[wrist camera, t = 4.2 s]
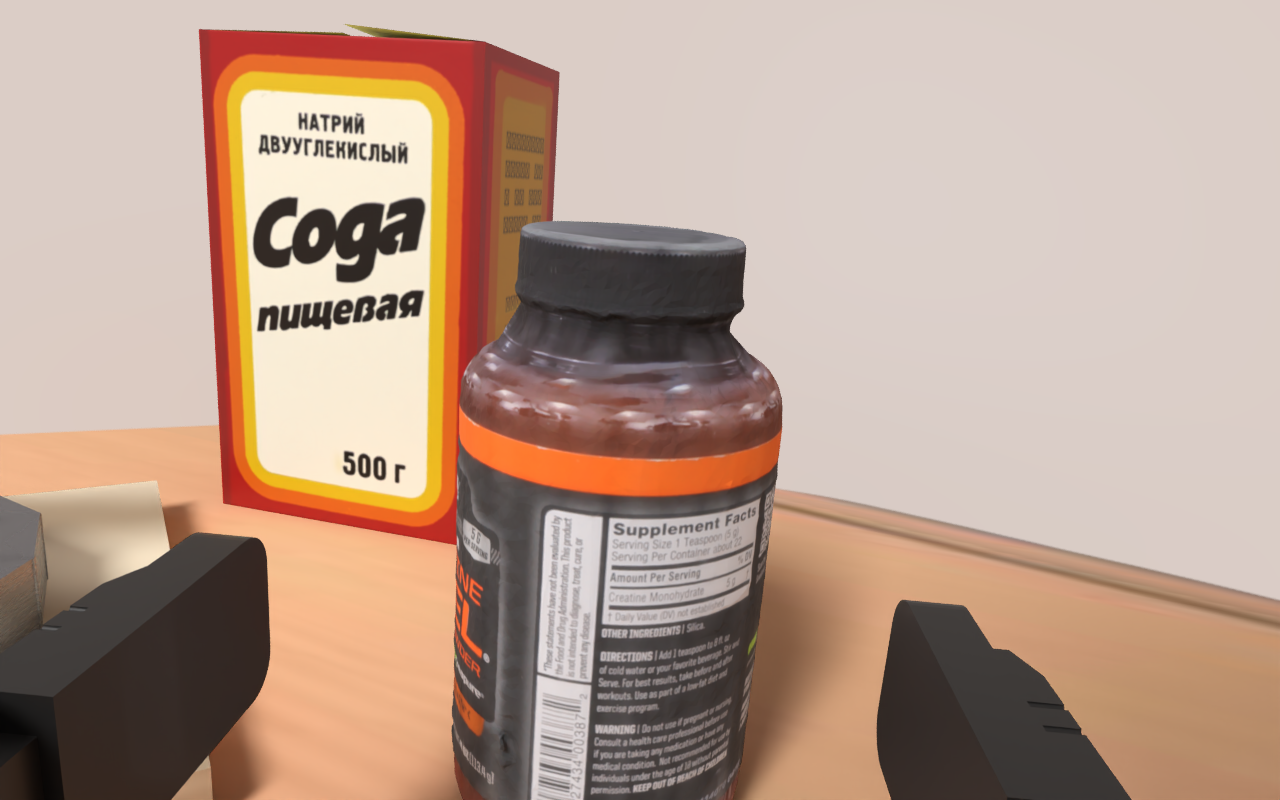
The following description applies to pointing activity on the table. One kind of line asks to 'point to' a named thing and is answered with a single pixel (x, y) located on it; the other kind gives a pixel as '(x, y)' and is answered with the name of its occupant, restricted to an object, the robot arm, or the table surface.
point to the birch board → (103, 554)
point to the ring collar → (21, 572)
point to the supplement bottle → (612, 522)
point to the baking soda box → (363, 258)
